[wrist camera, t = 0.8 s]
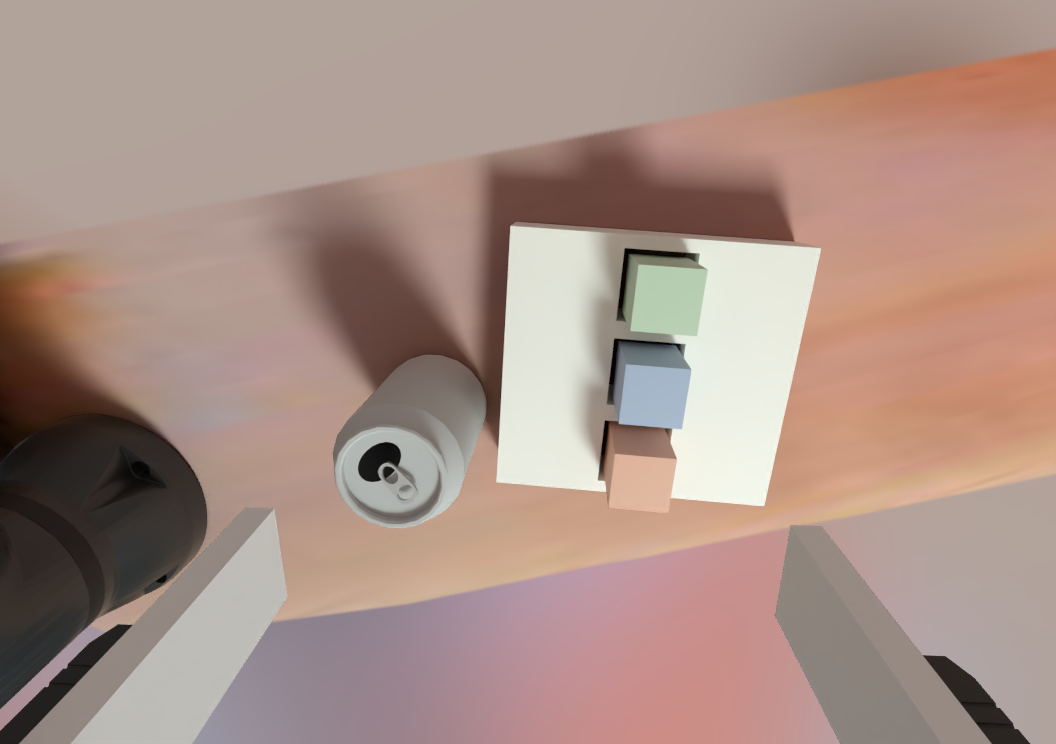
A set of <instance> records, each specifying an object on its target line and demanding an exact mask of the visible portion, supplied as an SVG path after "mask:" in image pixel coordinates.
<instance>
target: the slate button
mask: <svg viewBox="0 0 1056 744" xmlns="http://www.w3.org/2000/svg"><path fill="white" fill-rule="evenodd" d="M691 370H692V369H691V368H690V366H689V365H688V363H687V362H686V360H685V359H684V357H683V356H682V354H681V353H680V352H679V350H678V349H677V347H676V346H675V345H663V344H651V343H638V342H625V341H618V350H617V358H616V367H615V375H614V383H613V392H612V395H613V400H614V404H615V409H616V413H617V418H618V423H619V424H625V425H637V426H648V427H660V428H672V429H682V426H683V420H684V413H685V407H686V401H687V395H688V389H689V383H690V377H691Z"/></svg>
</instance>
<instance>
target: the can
mask: <svg viewBox="0 0 1056 744" xmlns="http://www.w3.org/2000/svg"><path fill="white" fill-rule="evenodd" d="M485 417H486V396H485V394H484V391H483V388H482V385H481V383H480V382H479V380H478V379H477V378H476V376H475V375H474V374H473V372H472V371H471V370H470V369H468V368H467V367H465V366H464V365H463V364H461V363H460V362H459V361H457V360H454V359H451V358H448V357H445V356H442V355H422V356H418V357H415V358H411V359H409V360H407V361H406V362H404V363H403V364H401V365H400V366H399V367H397V368H396V369H395V370H394V371H393V372H392V373H391V374H390V375H389V377H388V378H387V379H386V380H385V381H384V382H383V383H382V384H381V385H380V386H379V387H378V388H377V389H376V391H375V392H374V393H373V394H372V395H371V396H370V397H369V398H368V399H367V400H366V401H365V402H364V403H363V405H362V406H361V407H360V408H359V409H358V410H357V411H356V412H355V413H354V414H353V415H352V416H351V417H350V419H349V420H348V421H347V422H346V424H345V425H344V427H343V428H342V429H341V431H340V432H339V434H338V435H337V439H336V443H335V447H334V451H333V460H334V473H335V483H336V486H337V488H338V490H339V492H340V495H341V497H342V499H343V500H344V501H345V502H346V504H347V505H348V506H349V507H350V508H351V509H352V510H353V512H355V513H356V514H358V515H359V516H361V517H362V518H364V519H365V520H367V521H368V522H371V523H374V524H377V525H380V526H383V527H389V528H406V527H410V526H414V525H418V524H421V523H422V522H424V521H426V520H428V519H431V518H433V517H435V516H436V515H438V514H440V513H441V512H443V511H445V510H446V509H447V508H448V507H449V506H450V505H451V503H452V502H453V501H454V500H455V498H456V497H457V496H458V494H459V491H460V489H461V486H462V483H463V480H464V477H465V474H466V471H467V469H468V466H469V463H470V460H471V457H472V454H473V451H474V449H475V446H476V443H477V440H478V437H479V434H480V431H481V429H482V426H483V423H484V420H485Z"/></svg>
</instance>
